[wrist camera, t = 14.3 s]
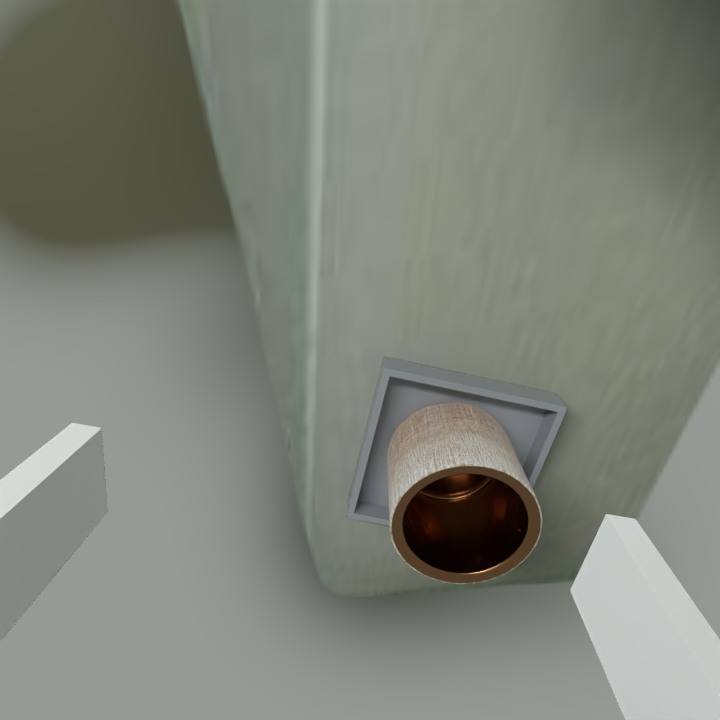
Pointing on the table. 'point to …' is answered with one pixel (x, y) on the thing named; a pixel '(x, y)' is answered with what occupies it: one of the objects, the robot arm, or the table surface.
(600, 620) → the robot arm
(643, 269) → the table surface
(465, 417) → the planter
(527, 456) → the tray
